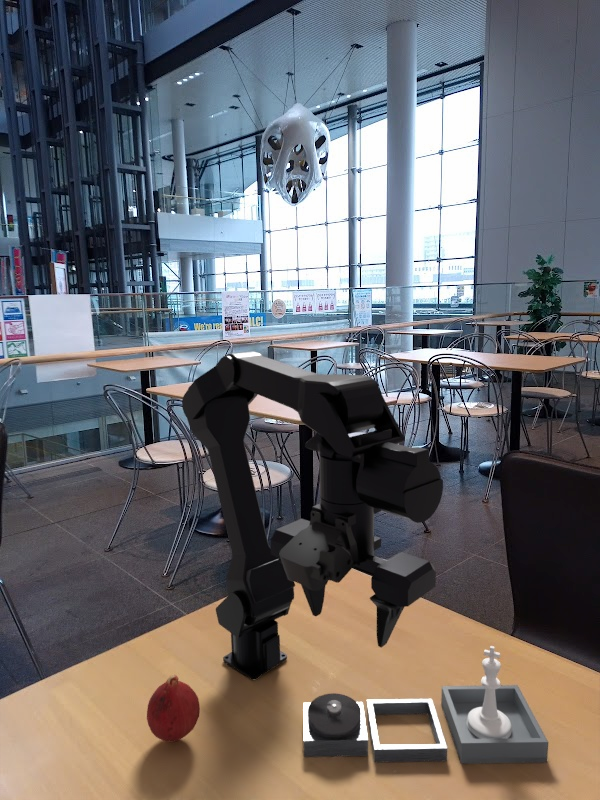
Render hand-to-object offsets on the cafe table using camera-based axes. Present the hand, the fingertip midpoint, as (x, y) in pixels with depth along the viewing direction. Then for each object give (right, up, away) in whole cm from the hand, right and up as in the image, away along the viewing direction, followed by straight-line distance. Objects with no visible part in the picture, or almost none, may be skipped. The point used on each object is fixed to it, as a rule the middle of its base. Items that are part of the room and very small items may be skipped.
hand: (348, 629), depth 66 cm
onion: (-20, -14, +2) cm, 24 cm away
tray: (+16, -13, +2) cm, 21 cm away
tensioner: (+3, -13, +2) cm, 13 cm away
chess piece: (+16, -12, +2) cm, 20 cm away
